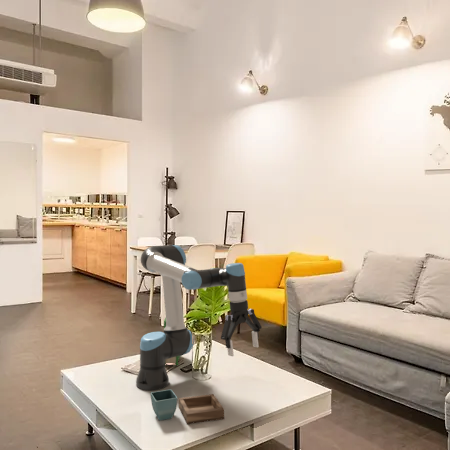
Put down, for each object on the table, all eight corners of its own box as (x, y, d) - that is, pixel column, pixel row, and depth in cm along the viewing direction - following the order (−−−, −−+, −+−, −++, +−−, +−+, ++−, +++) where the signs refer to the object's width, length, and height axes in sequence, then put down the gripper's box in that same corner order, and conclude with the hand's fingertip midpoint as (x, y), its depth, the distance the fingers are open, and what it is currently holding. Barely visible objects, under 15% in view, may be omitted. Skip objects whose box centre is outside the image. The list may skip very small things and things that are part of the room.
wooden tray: (178, 407, 185) (178, 398, 185) (213, 403, 190) (213, 393, 190) (187, 424, 171) (187, 414, 171) (224, 419, 176) (224, 409, 176)
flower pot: (155, 424, 171) (155, 401, 171) (149, 414, 179) (150, 392, 179) (177, 420, 175) (177, 397, 174) (171, 410, 183) (171, 389, 182)
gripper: (219, 307, 175) (225, 361, 175) (266, 295, 190) (271, 344, 190) (208, 305, 181) (214, 357, 181) (254, 294, 196) (259, 341, 196)
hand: (243, 351), depth 186 cm, fingers open, 13 cm apart
